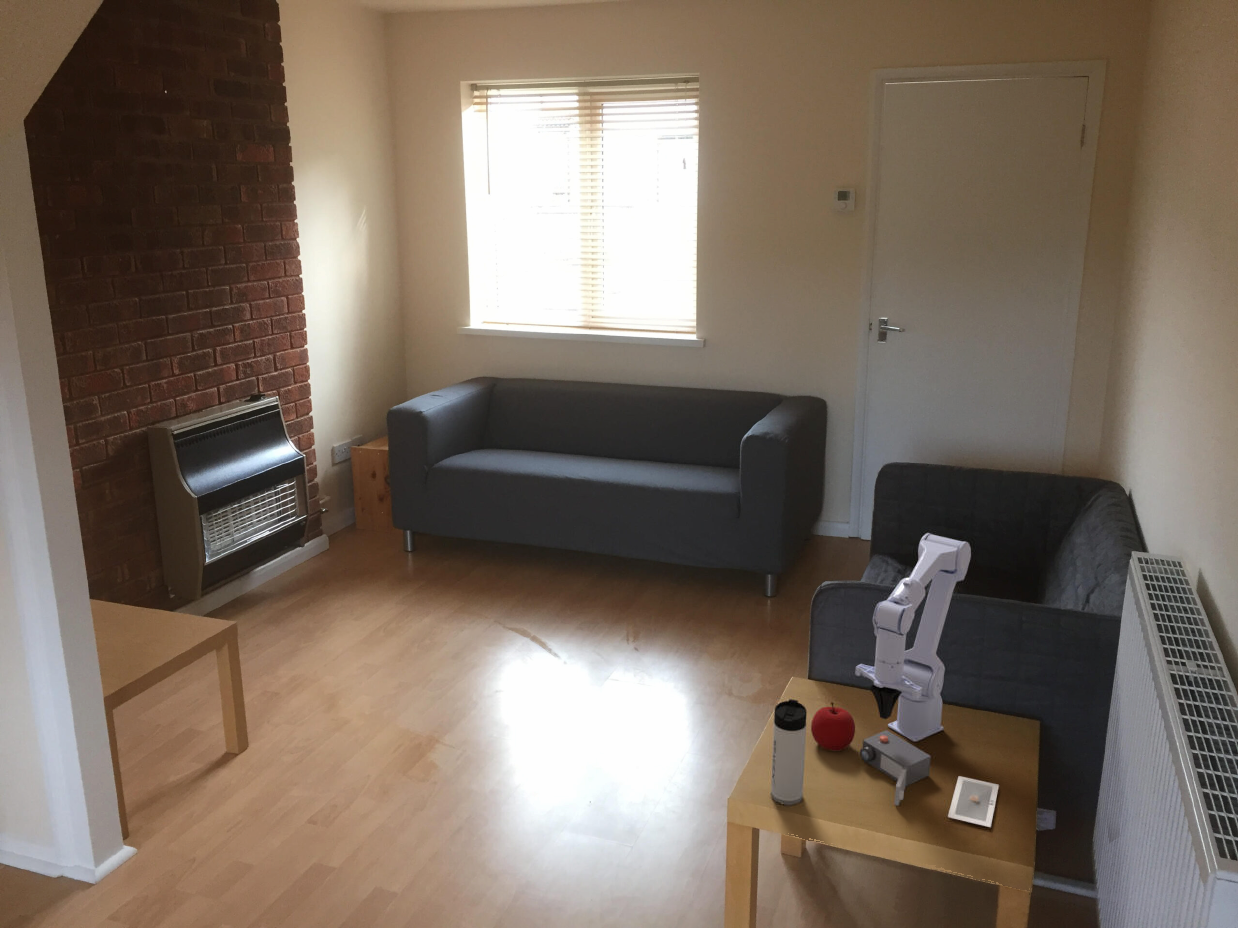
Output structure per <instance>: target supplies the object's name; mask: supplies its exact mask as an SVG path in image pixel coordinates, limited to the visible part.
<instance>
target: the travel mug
mask: <svg viewBox="0 0 1238 928" xmlns="http://www.w3.org/2000/svg"><path fill="white" fill-rule="evenodd" d="M807 711H808V710H807V708H806V707H805V706H804V705H803V703H800V702H799V700H797V699H790V698H789V699H788V700H785V701H781V702H779V703H778V704H776V705H775V707H774V713H773V715H774V718H773V730H772V731H773V733H772V754H771V755H772V758H771V759H772V760H771V761H772V762H771V781H770V782H771V783H770V786H771V788H770V797H771V799H772V798H773V799H774V800H775V802H776V801H777V802H779V803H783V804H785V805H784V806H794V805H793V804H795V805H797V803H798V804H799V803H801V801H802V799H803V798H804V797H803V796H804V794H803V793H804V791H803V790H804V775H805V774H804V773H805V759H806V758H805V757H806V756H805V754H806V735H807V713H808V712H807ZM773 799H772V800H773ZM774 800H773V801H774ZM777 802H776V803H777ZM779 803H778V804H779ZM791 804H792V805H791Z"/></svg>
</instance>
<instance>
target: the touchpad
mask: <svg viewBox="0 0 1238 928" xmlns="http://www.w3.org/2000/svg"><path fill="white" fill-rule="evenodd" d="M999 788H1000V785H999V784H996V783H992V782H988V781H987V782H986V781H983V780H978V779H974V778H970V777H965V776H960V775H959V776H958V777H957V781H956V784H955V789H954V791H953V796H952V800H951V803H950V807H949V811H948V815H947V817H948V818H950V819H955V820H958V821H963V822H967V823H971V824H975V825H979V826H983V827H988V828H992V823H993V822H992V821H993V816H994V813H995V809H996V808H995V807H996V801H997V795H998V793H999V791H998V790H999Z"/></svg>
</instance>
